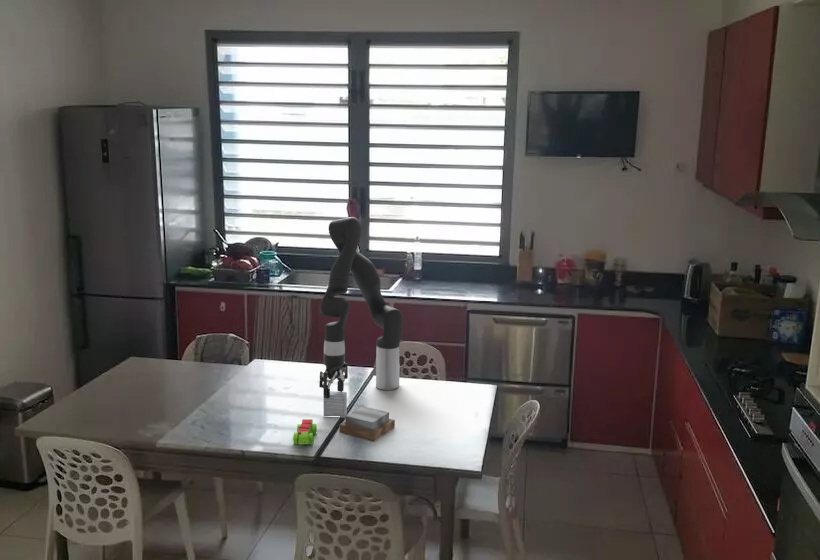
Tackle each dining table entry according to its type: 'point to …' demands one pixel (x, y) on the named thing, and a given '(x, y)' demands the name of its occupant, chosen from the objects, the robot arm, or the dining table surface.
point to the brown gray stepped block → (367, 423)
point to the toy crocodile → (305, 432)
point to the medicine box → (336, 404)
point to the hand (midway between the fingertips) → (333, 394)
